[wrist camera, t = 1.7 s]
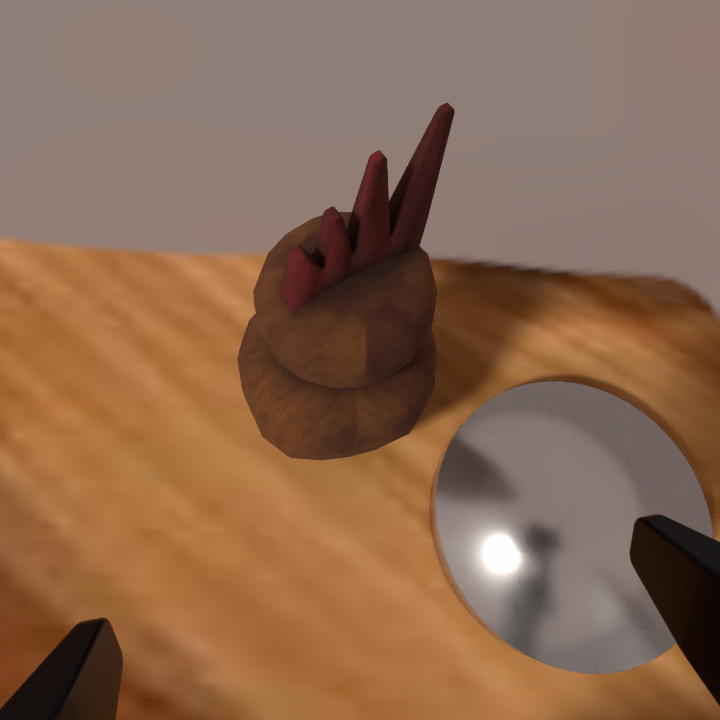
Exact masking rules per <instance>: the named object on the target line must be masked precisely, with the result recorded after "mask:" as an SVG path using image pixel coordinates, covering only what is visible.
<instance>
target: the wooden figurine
mask: <svg viewBox="0 0 720 720" xmlns="http://www.w3.org/2000/svg"><path fill="white" fill-rule="evenodd" d="M453 116H454V109H453V108H452V107H451V106H450V105H449V104H448V103H445V104H443V105H441V106H440V107H439V108H438V110H437V111H436V112H435V115H434V116H433V118H432V120H431V122H430V124H429V126H428V128H427V130H426V132H425V133H424V135H423V137H422V139H421V141H420V143H419V145H418V147H417V149H416V151H415V153H414V154H413V156H412V158H411V160H410V162H409V164H408V166H407V168H406V170H405V172H404V174H403V176H402V177H401V179H400V181H399V183H398V185H397V187H396V189H395V191H394V193H393V195H392V197H391V199H390V201H389V194H388V171H387V158H386V157H385V156H384V155H383V154H382V153H381V151H377V152H375V153H373V154H372V155H371V156H370V157H369V160H368V163H367V166H366V170H365V173H364V176H363V179H362V182H361V185H360V188H359V191H358V195H357V198H356V201H355V204H354V207H353V210H352V212H338V211H337V210H336V209H335V208H334V207H331V208H329V209H327V210H325V212H324V213H323V216H319V217H316V218H313V219H311V220H309V221H307V222H306V223H304V224H302V225H301V226H299V227H297V228H295V229H294V230H292V231H291V232H289V233H287V234H286V235H285V236H284V237H283V238H282V239H281V240H280V241H279V242H278V243H277V245H276V246H275V247H274V248H273V249H272V250H271V251H270V252H269V253H268V256H267V258H266V260H265V263H264V265H263V267H262V270H261V273H260V275H259V278H258V280H257V283H256V286H255V288H254V291H253V292H254V305H255V310H256V314H255V315H254V316H253V317H252V318H251V319H250V320H249V323H248V326H247V328H246V331H245V334H244V337H243V340H242V343H241V347H240V350H239V355H238V365H239V372H240V378H241V385H242V390H243V393H244V396H245V398H246V401H247V403H248V405H249V407H250V410H251V412H252V414H253V416H254V418H255V421H256V423H257V425H258V427H259V430H260V432H261V434H262V437H264V438H265V439H266V440H267V441H269V442H270V443H271V444H273V445H274V446H275V447H277V448H278V449H279V450H281V451H282V452H283V453H285V454H286V455H287V456H289V457H291V458H299V459H312V460H327V459H335V458H343V457H350V456H353V455H357V454H361V453H365V452H369V451H372V450H376V449H378V448H380V447H382V446H384V445H386V444H388V443H390V442H392V441H394V440H396V439H399V438H401V437H403V436H405V435H407V434H409V433H410V431H411V430H412V428H413V427H414V425H415V423H416V421H417V420H418V418H419V416H420V414H421V413H422V411H423V409H424V407H425V406H426V404H427V402H428V401H429V399H430V397H431V394H432V391H433V388H434V383H435V368H436V345H435V341H434V337H433V333H432V329H431V325H432V322H433V317H434V310H435V303H436V296H437V290H436V285H435V280H434V276H433V272H432V268H431V264H430V260H429V257H428V254H427V253H426V252H425V251H424V250H423V249H422V248H421V247H420V242H421V239H422V236H423V232H424V229H425V225H426V222H427V218H428V214H429V210H430V206H431V203H432V199H433V195H434V191H435V187H436V183H437V179H438V175H439V171H440V167H441V163H442V159H443V155H444V152H445V148H446V144H447V140H448V136H449V132H450V128H451V124H452V120H453Z"/></svg>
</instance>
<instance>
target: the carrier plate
mask: <svg viewBox="0 0 720 720" xmlns="http://www.w3.org/2000/svg"><path fill="white" fill-rule="evenodd" d="M654 514H660V515H664V516H666V517H668V518H670V519H672V520H674V521H677V522H679V523H681V524H683V525H685V526H687V527H689V528H691V529H693V530H696V531H698V532H700V533H702V534H704V535H706V536H708V537H710V538H713V531H712V523H711V518H710V514H709V510H708V506H707V503H706V500H705V497H704V494H703V492H702V489H701V486H700V484H699V482H698V480H697V478H696V476H695V474H694V472H693V470H692V468H691V466H690V465H689V463H688V462H687V460H686V458H685V457H684V455H683V454H682V452H681V451H680V450H679V448H678V447H677V446H676V445H675V443H674V442H673V441H672V440H671V438H670V437H669V436H668V435H667V434H666V433H665V432H664V431H663V430H662V429H661V428H660V427H659V426H658V425H657V424H656V423H655V422H654V421H652V420H651V419H650V418H649V417H648V416H646V415H645V414H644V413H643V412H641V411H640V410H638V409H637V408H635V407H634V406H632V405H631V404H629V403H628V402H626V401H624V400H622V399H620V398H618V397H616V396H614V395H613V394H610V393H608V392H605V391H602V390H600V389H597V388H594V387H590V386H586V385H582V384H578V383H570V382H563V381H545V382H537V383H530V384H526V385H522V386H518V387H515V388H512V389H510V390H507V391H505V392H502V393H500V394H499V395H497V396H495V397H493V398H492V399H490V400H488V401H487V402H486V403H484V404H483V405H482V406H481V407H479V408H478V409H477V410H476V411H474V413H473V414H472V415H471V416H470V417H469V418H468V419H467V420H466V421H465V422H464V423H463V424H462V425H461V426H460V427H459V428H458V430H457V431H456V432H455V433H454V435H453V436H452V437H451V439H450V440H449V442H448V443H447V445H446V447H445V449H444V451H443V453H442V455H441V457H440V459H439V462H438V464H437V467H436V470H435V473H434V477H433V482H432V487H431V496H430V524H431V531H432V536H433V542H434V546H435V550H436V553H437V556H438V559H439V562H440V565H441V567H442V569H443V572H444V574H445V576H446V578H447V581H448V582H449V584H450V586H451V587H452V589H453V591H454V592H455V594H456V596H457V597H458V599H459V600H460V601H461V603H462V604H463V605H464V607H465V608H466V609H467V610H468V612H469V613H470V614H471V615H472V616H473V617H474V618H475V619H476V620H477V621H478V622H479V623H480V624H481V625H482V626H483V627H484V628H485V629H486V630H487V631H489V632H490V633H491V634H492V635H494V636H495V637H496V638H497V639H499V640H500V641H502V642H503V643H505V644H507V645H508V646H510V647H511V648H513V649H515V650H516V651H519V652H521V653H523V654H525V655H527V656H529V657H532V658H534V659H536V660H538V661H541V662H543V663H545V664H548V665H550V666H553V667H557V668H561V669H564V670H568V671H573V672H580V673H588V674H602V673H614V672H620V671H625V670H630V669H632V668H635V667H638V666H641V665H644V664H646V663H648V662H650V661H652V660H654V659H655V658H657V657H659V656H661V655H662V654H664V653H665V652H666V651H667V650H669V649H670V648H671V647H672V646H674V645H675V644H676V641H675V639H674V638H673V636H672V634H671V633H670V631H669V629H668V627H667V626H666V624H665V622H664V620H663V619H662V617H661V615H660V613H659V612H658V610H657V608H656V606H655V605H654V603H653V601H652V599H651V598H650V596H649V594H648V592H647V591H646V589H645V587H644V585H643V584H642V582H641V580H640V578H639V577H638V575H637V573H636V571H635V570H634V568H633V566H632V563H631V560H630V555H629V551H630V545H631V539H632V533H633V527H634V523H635V521H636V520H637V518H639V517H644V516H649V515H654Z"/></svg>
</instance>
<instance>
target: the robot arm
mask: <svg viewBox="0 0 720 720" xmlns="http://www.w3.org/2000/svg"><path fill="white" fill-rule="evenodd" d="M629 555H630V560H631V563H632V566H633V568H634V570H635V571H636V573H637V575H638V577H639V578H640V580H641V582H642V584H643V585H644V587H645V589H646V591H647V592H648V594H649V596H650V598H651V599H652V601H653V603H654V605H655V606H656V608H657V610H658V612H659V613H660V615H661V617H662V619H663V620H664V622H665V624H666V626H667V627H668V629H669V631H670V633H671V634H672V636H673V638H674V639H675V641H676V643H677V644H678V646H679V648H680V649H681V651H682V652H683V654H684V655H685V657H686V658H687V660H688V661H689V663H690V664H691V666H692V667H693V668H694V670H695V671H696V673H697V674H698V676H699V677H700V678H701V680H702V681H703V683H704V684H705V686H706V687H707V689H708V690H709V691H710V693H711V694H712V696H713V697H714V699H715V700H716V701H717V703H718V704H719V706H720V542H719V541H717V540H715V539H713V538H710V537H708V536H706V535H704V534H702V533H700V532H698V531H696V530H693V529H691V528H689V527H687V526H685V525H683V524H681V523H679V522H677V521H674V520H672V519H670V518H668V517H666V516H664V515H660V514H654V515H649V516H644V517H639V518H637V520H636V521H635V523H634V527H633V533H632V539H631V545H630V551H629ZM122 668H123V656H122V651H121V648H120V646H119V643H118V641H117V638H116V636H115V633H114V631H113V628H112V626H111V623H110V622H109V620H108V619H107V618H97V619H92V620H86V621H82V622H80V623H78V624H77V625H76V626H74V627H73V629H72V630H71V631H70V632H69V633H68V634H67V635H66V636H65V637H64V639H63V640H62V641H61V642H60V643H59V644H58V645H57V646H56V648H55V649H54V650H53V651H52V652H51V653H50V654H49V655H48V656H47V658H46V659H45V660H44V661H43V662H42V663H41V664H40V665H39V666H38V668H37V669H36V670H35V671H34V672H33V673H32V674H31V675H30V677H29V678H28V679H27V680H26V681H25V682H24V683H23V684H22V685H21V687H20V688H19V689H18V690H17V691H16V692H15V693H14V694H13V695H12V697H11V698H10V699H9V700H8V701H7V702H6V703H5V704H4V705H3V707H2V708H1V709H0V720H116V713H117V706H118V698H119V691H120V683H121V676H122Z"/></svg>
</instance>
